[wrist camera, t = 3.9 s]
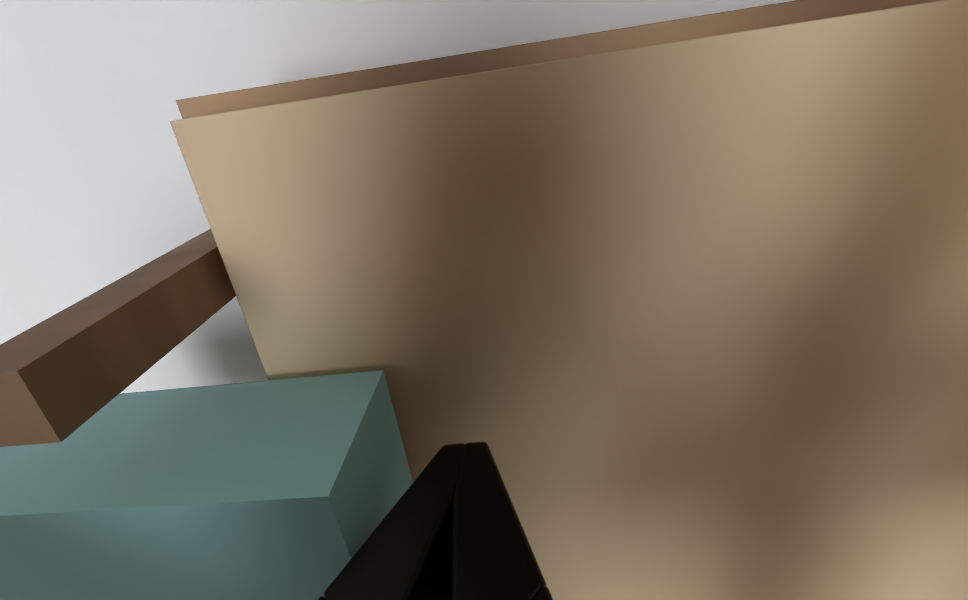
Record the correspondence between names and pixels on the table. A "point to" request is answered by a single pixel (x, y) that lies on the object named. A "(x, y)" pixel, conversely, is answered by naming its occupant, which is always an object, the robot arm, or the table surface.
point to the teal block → (204, 493)
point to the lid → (647, 295)
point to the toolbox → (198, 263)
